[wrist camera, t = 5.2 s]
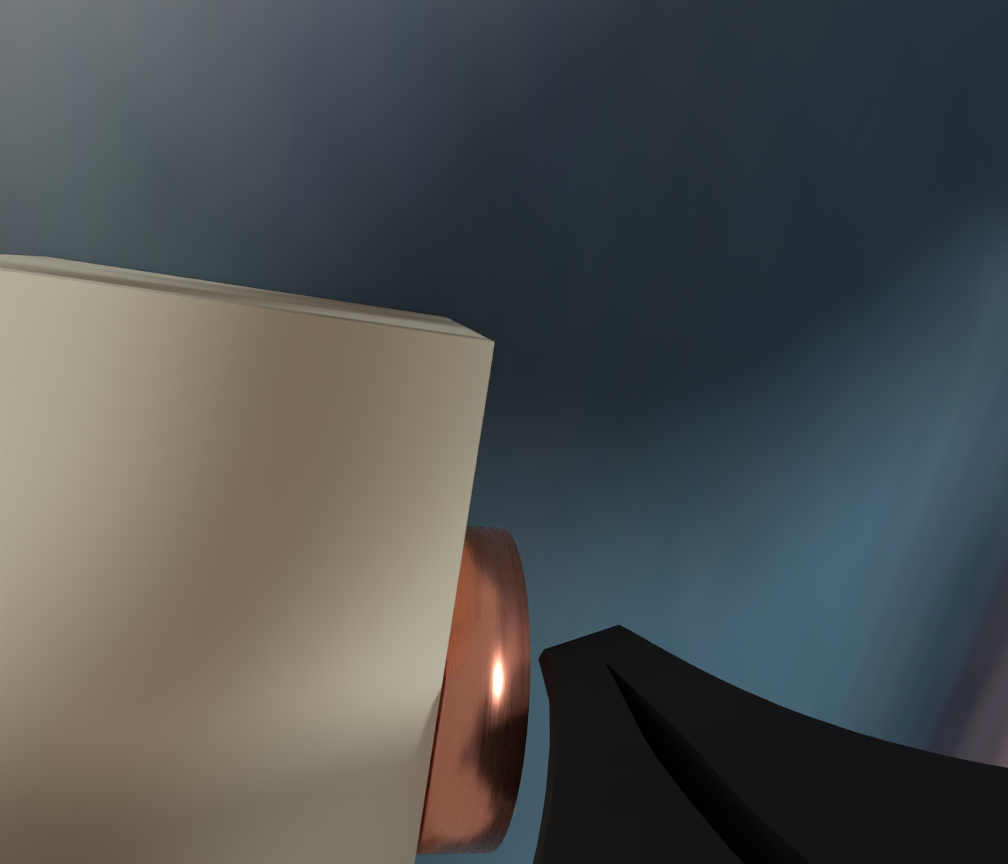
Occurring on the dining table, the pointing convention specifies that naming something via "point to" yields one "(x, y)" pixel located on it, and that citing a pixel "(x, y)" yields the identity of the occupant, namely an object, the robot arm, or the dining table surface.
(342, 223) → the dining table surface
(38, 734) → the hitch block
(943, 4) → the dining table surface
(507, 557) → the pin
